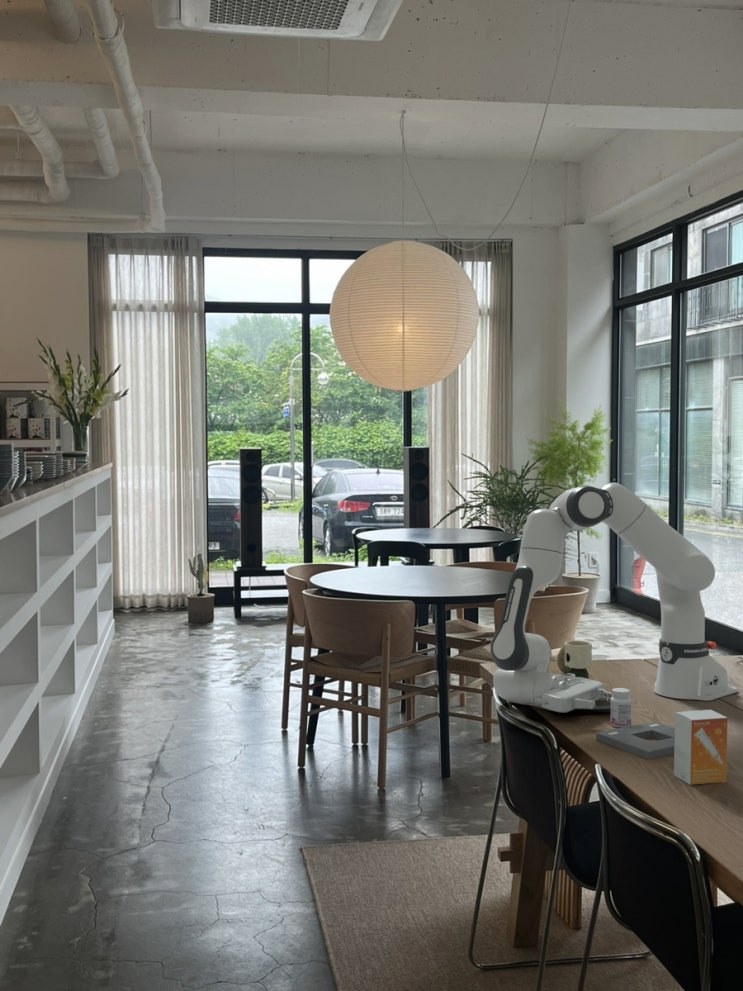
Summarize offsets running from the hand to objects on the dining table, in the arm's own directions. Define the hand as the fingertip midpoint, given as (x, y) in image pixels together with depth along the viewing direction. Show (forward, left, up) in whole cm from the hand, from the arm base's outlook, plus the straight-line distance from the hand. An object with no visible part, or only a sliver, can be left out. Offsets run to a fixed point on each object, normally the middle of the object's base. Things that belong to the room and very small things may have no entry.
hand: (603, 701), depth 236 cm
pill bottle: (-1, +4, -5) cm, 7 cm away
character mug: (-14, -26, -5) cm, 30 cm away
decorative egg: (-24, -41, -5) cm, 48 cm away
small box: (+12, +40, -5) cm, 42 cm away
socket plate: (+3, +18, -5) cm, 19 cm away
